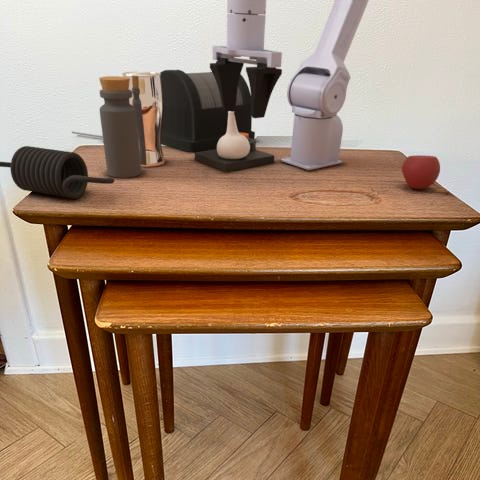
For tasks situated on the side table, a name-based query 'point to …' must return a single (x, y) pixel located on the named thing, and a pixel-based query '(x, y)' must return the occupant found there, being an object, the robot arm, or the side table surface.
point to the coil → (51, 172)
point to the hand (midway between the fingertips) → (243, 113)
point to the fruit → (421, 171)
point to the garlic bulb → (232, 141)
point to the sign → (87, 134)
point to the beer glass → (148, 114)
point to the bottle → (119, 128)
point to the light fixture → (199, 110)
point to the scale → (227, 165)
